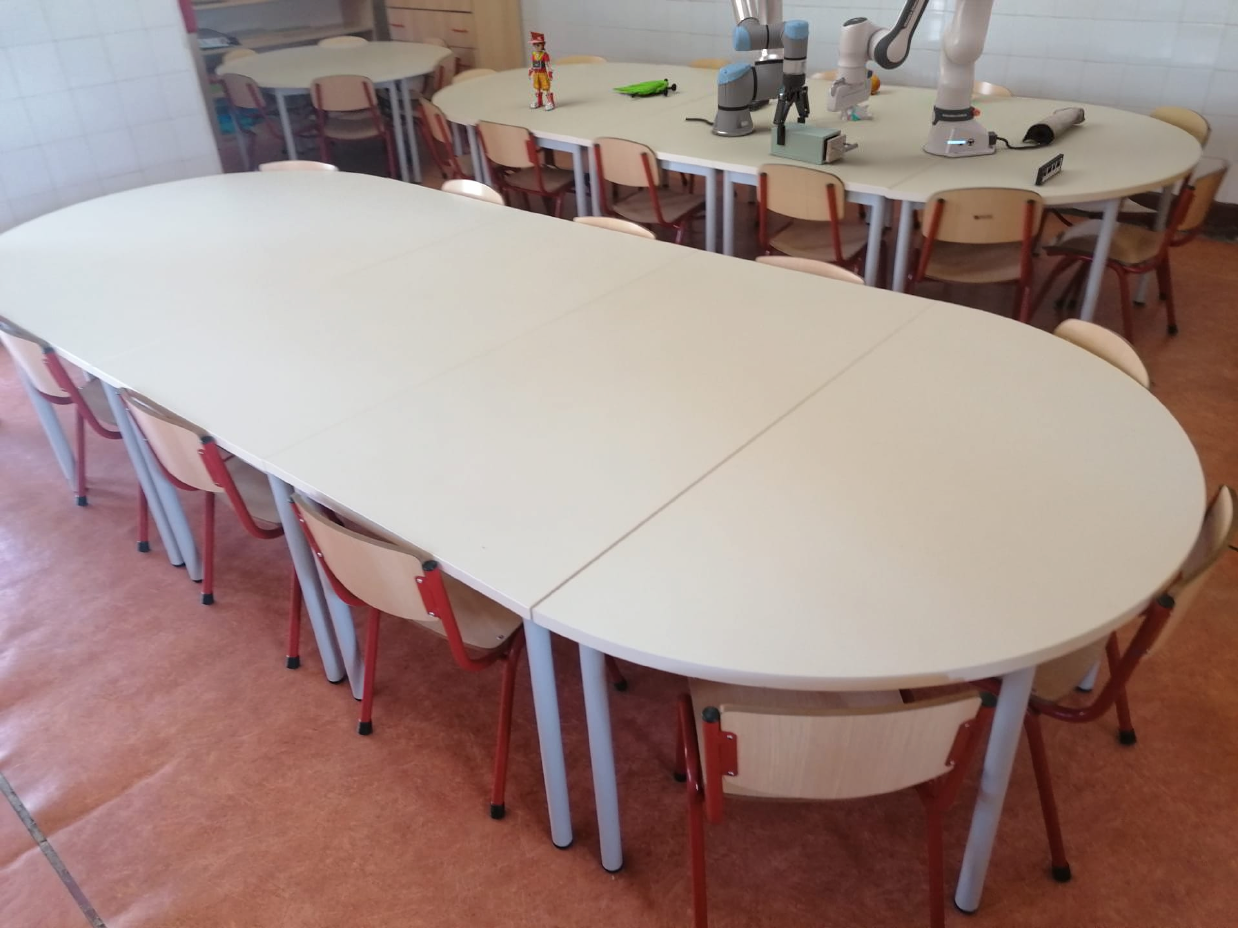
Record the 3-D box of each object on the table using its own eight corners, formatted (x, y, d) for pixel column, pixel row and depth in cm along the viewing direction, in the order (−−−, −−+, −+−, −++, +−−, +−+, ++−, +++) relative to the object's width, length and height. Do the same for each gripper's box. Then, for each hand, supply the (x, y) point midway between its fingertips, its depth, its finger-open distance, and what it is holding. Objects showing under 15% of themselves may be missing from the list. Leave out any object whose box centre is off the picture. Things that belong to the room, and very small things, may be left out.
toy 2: (686, 85, 398) (631, 84, 414) (685, 72, 395) (629, 72, 411) (651, 104, 381) (596, 103, 397) (650, 92, 378) (594, 91, 394)
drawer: (858, 158, 298) (860, 137, 294) (842, 165, 293) (844, 143, 289) (796, 146, 313) (797, 126, 309) (780, 153, 308) (781, 132, 304)
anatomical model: (835, 89, 346) (860, 82, 346) (837, 116, 352) (863, 109, 352) (846, 98, 334) (872, 91, 333) (848, 126, 340) (874, 119, 339)
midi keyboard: (1039, 185, 269) (1043, 168, 266) (1035, 184, 270) (1038, 168, 267) (1060, 170, 279) (1064, 154, 277) (1056, 169, 280) (1060, 153, 277)
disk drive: (754, 111, 359) (769, 102, 369) (754, 104, 357) (770, 95, 367) (731, 109, 364) (746, 100, 374) (731, 102, 362) (747, 93, 372)
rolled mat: (1051, 112, 323) (1076, 94, 315) (1065, 133, 323) (1091, 116, 315) (1017, 135, 306) (1043, 117, 298) (1032, 158, 306) (1058, 140, 298)
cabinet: (838, 157, 304) (841, 130, 299) (820, 164, 298) (823, 137, 293) (788, 147, 316) (789, 121, 311) (770, 154, 310) (771, 128, 305)
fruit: (854, 86, 370) (866, 68, 367) (856, 89, 378) (868, 72, 375) (870, 97, 369) (883, 79, 366) (872, 100, 376) (884, 83, 373)
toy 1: (525, 109, 381) (517, 32, 364) (534, 104, 388) (527, 28, 371) (550, 110, 377) (543, 32, 360) (559, 105, 384) (553, 28, 367)
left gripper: (782, 80, 287) (779, 150, 299) (823, 67, 300) (818, 135, 313) (763, 78, 291) (761, 147, 304) (805, 65, 304) (800, 132, 317)
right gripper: (841, 83, 274) (837, 129, 282) (876, 70, 286) (872, 115, 294) (823, 80, 278) (820, 126, 286) (859, 68, 290) (855, 112, 298)
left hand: (790, 141), depth 308 cm, fingers closed on cabinet, 11 cm apart
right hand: (846, 120), depth 290 cm, fingers closed
